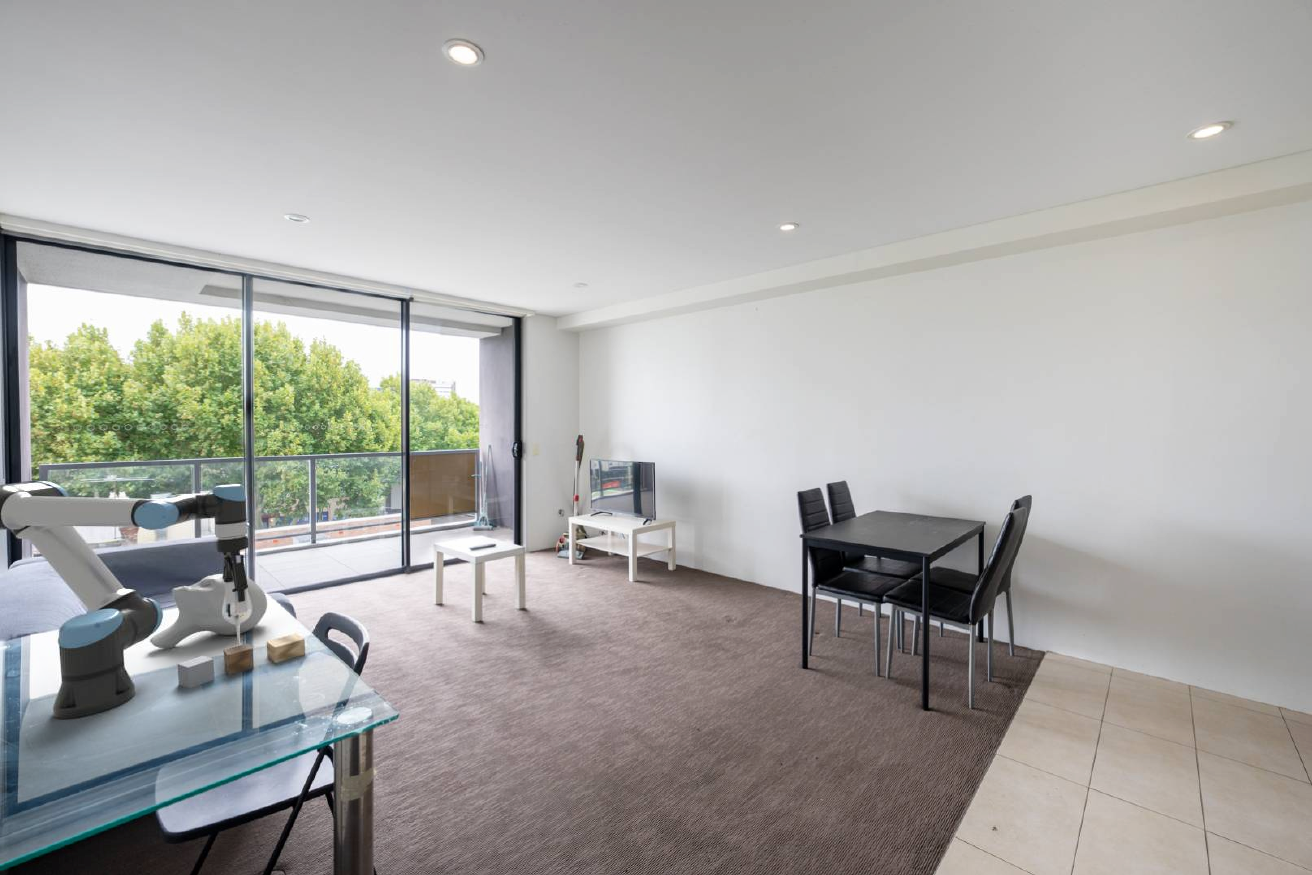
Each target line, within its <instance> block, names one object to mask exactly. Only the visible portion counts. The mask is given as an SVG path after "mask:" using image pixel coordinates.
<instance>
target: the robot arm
mask: <svg viewBox="0 0 1312 875" xmlns="http://www.w3.org/2000/svg"><path fill="white" fill-rule="evenodd" d="M212 488H213V489H212V492H205V493H204V492H203V493H179V494H174V495H173V494H172V495H168V496H167V497H166V498H121V497H118V498H117V497H84V496H83V497H79V496H76V497H75V496H69V494H68V492H67V491H66V490H65V488H63V487H62V486H60V485H58V484H56V483H53V482H50V481H45V480H43V481H42V480H25V481H20V482H14V483H6V484H0V531H1V530H9V531H10V532H11V533H12V534H13V535H14V537H15V538H17V539H19V540H20V539H22V540H27V541H30V543H31V544H32V546H34V548H35V549H36V550H37V551H38V552H39V554H41V556H42V557H43V558H44V559H45V561H46V562H47V563H48V564H49V565H50V566H51V568H53V570H54V571H55V573H57V575H58V576H59V577H60V578H61V580H63V582H64V583H65V584H66V585H67V586H68V587H69V589H70V590H71V591H72V592H73V593H74V594H75V596H76V597H77V598H78V599H79V601H80V602H81V603H82V604H83V605H84V606H85V607H86V609H87V611H86V613H83V614H79V615H75V616H74V617H72V618H70V619H68V620H66V621H65V622H63V623H62V624H61V626H60V627H59V630H58V638H57V644H58V646H59V647H58V649H59V660H60V661H59V663H60V674H61V675H60V676H61V684H60V686H59V690H58V693H57V695H56V697H55V701H54V703H53V707H52V711H53V713H52V714H53V717H54V718H55V719H60V720H63V719H67V720H68V719H69V720H70V719H77V718H83V717H86V716H91V715H95V714H97V713H98V714H99V713H101V712H104V711H108V710H110V709H112V708H115V707H118V706H121V705H122V704H124V703H127V702H128V701H129V700H131V699H132V698H133V697H134V696H135V695H136V686H135V684H134V681H133V680H132V678H131V676H130V674H129V672H128V671H127V670H126V667H125V653H124V651H126V650H127V649H129V648H131V647H133V646H134V645H136V644H138V643H141V642H143V641H144V640H146V639H147V638H149V637H151V636H152V635H153V634H154V633H155V632H157V630H158V629H159V628H160V626H161V625H162V621H163V619H164V611H163V608H162V607H161V606H162V605H160V604H159V602H157V601H156V600H155V599H152V598H148V597H142V596H141V595H140V594H139V592H137V591H136V589H130V588H125V587H124V586H123V584H122V583H121V582H120V581H119V580H118V579H117V577H116V576H115V575H114V573H113V572H112V571H111V570H110V568H108V566H106V564H105V563H104V562H103V560H101V558H100V557H99V556H98V555H97V554H96V552H95V551H94V550H93V549H92V547H91V546H90V545H89V544H88V543H87V542H86V540H85V539H84V538H83V536H82V535H81V534H80V533H79V532H78V530H77V529H76V528H75V527H112V528H113V527H116V528H117V527H123V528H124V527H125V528H128V527H129V528H133V527H134V528H142V529H143V530H144V529H145V530H148V531H154V530H164V529H166V528H169V527H172V526H174V525H179V524H182V523H186V522H189V521H193V520H194V521H195V520H203V519H205V520H206V519H214V526H215V528H214V530H215V538H217V539H216V541H215V542H216V551H217V552H218V553H222V554H223V563H222V564H223V565H222V574H223V577H222V578H223V579H224V582H226V583H225V600H226V605H227V604H231V603H235V613H236V614H238V613H242V612H247V595H246V588H248V585H247V579H246V577H247V574H246V568H245V561H244V560H245V556H244V554H241V551H242V550H243V551H245V550H246V549H248V548H249V536H248V535H247V534H248V527H250V523H248V518H247V516H248V515H247V514H248V513H247V496H246V490H245V489H246V488H245V486H244V485H243V484H222V485H215V486H214V487H212Z"/></svg>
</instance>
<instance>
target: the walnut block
mask: <svg viewBox="0 0 1312 875" xmlns="http://www.w3.org/2000/svg"><path fill="white" fill-rule="evenodd" d="M250 645H251V644H249V643H244V644H241V645H240V646H237V645H236V646H237V647H236V646H234V647H229V648H225V649H223V661H224V663H223V664H224V671H225V672H226V673H227V675H228V676H231V675H234V674H239V673H241V672H245V671H248V670H252V669H255V665H254V662H255V660H254V648H252V647H251V646H250Z"/></svg>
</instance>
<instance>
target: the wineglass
mask: <svg viewBox="0 0 1312 875" xmlns="http://www.w3.org/2000/svg"><path fill="white" fill-rule="evenodd" d="M246 595H247V612H242V613H238V614H236V613H235V603H231V604H227V605H226V600H225V595H224V599H223V605H222V618H223V620H224V621H225V622H227V623H229V624H231V625H235V626H236V629H237V634H236V636H237V637H236V638H237V645H236V646H235V647H237V646H240V645H242V643H241V634H240V624H242V623H243V622H245V621H246V620H247V619H248V618H249V617H250V615H251V613H252V604H251V600H250V597H249V594H248V591H247V588H246ZM249 645H250V646H251V647H252V648H253V649H254V645H251V644H249Z"/></svg>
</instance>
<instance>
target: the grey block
mask: <svg viewBox="0 0 1312 875" xmlns="http://www.w3.org/2000/svg"><path fill="white" fill-rule="evenodd" d="M214 662H215V661H214V658H211V657H208V656H207V655H206V656H205V655H200V656H198V657H195V658H190V659H188V660H185V661H182V662H179V663H177V676H178V677H177V679H178V685H179V686H181V687H183V688H187V689H192V688H195V687H197V686H200V685H204V684H206V683H208V682H211V681H214V680H215V663H214Z"/></svg>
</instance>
